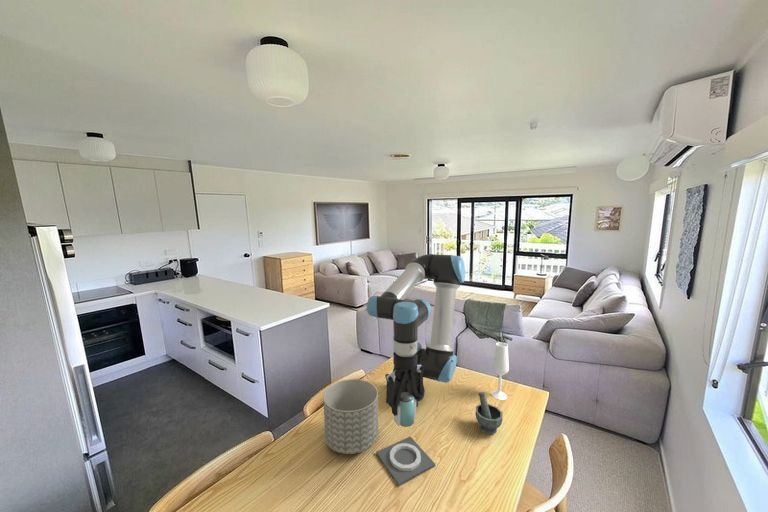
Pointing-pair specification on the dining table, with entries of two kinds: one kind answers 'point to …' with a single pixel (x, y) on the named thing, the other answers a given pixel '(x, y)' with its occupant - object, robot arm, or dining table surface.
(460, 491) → the dining table surface
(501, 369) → the champagne flute
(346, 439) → the planter
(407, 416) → the teal and grey peg
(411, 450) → the holder
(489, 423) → the mortar and pestle
